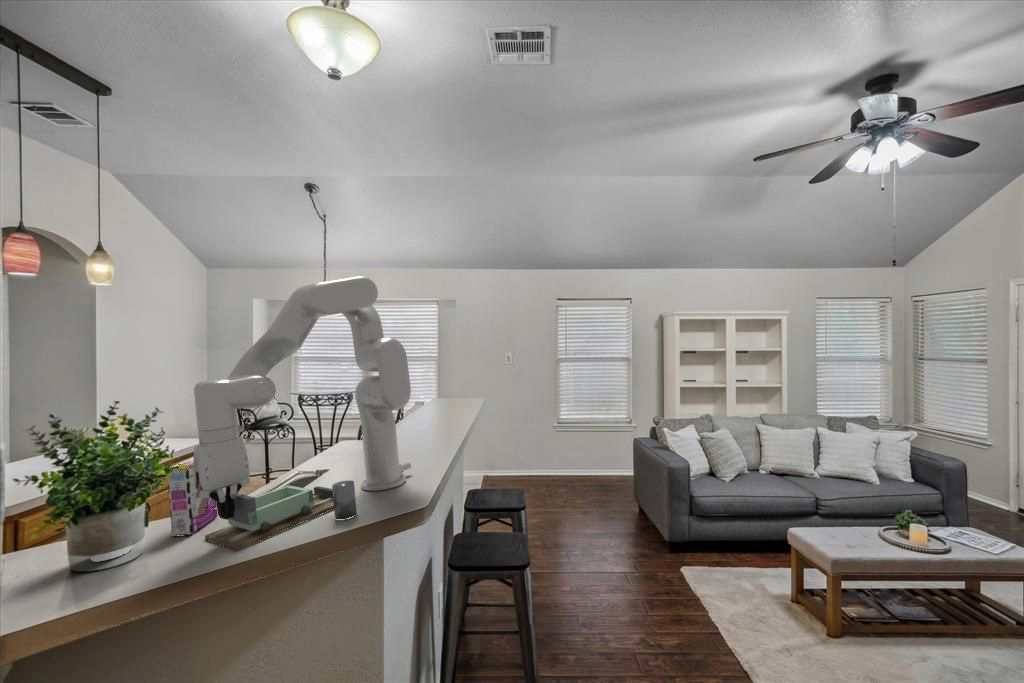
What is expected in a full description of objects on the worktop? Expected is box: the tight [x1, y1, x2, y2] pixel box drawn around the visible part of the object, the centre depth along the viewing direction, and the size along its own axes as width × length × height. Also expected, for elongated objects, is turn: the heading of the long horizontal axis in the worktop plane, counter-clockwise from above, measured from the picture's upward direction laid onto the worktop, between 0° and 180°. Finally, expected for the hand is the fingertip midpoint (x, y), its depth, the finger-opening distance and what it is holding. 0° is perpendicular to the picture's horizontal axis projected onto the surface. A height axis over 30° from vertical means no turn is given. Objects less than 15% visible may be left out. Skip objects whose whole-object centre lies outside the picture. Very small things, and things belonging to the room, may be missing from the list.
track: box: [204, 485, 334, 552], centre depth 114 cm, size 28×14×3 cm, turn 147°
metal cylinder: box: [331, 480, 358, 519], centre depth 113 cm, size 5×5×8 cm
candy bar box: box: [167, 456, 218, 537], centre depth 115 cm, size 11×5×16 cm, turn 5°
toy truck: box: [227, 484, 314, 531], centre depth 112 cm, size 15×12×8 cm
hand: (227, 517), depth 104 cm, fingers closed
